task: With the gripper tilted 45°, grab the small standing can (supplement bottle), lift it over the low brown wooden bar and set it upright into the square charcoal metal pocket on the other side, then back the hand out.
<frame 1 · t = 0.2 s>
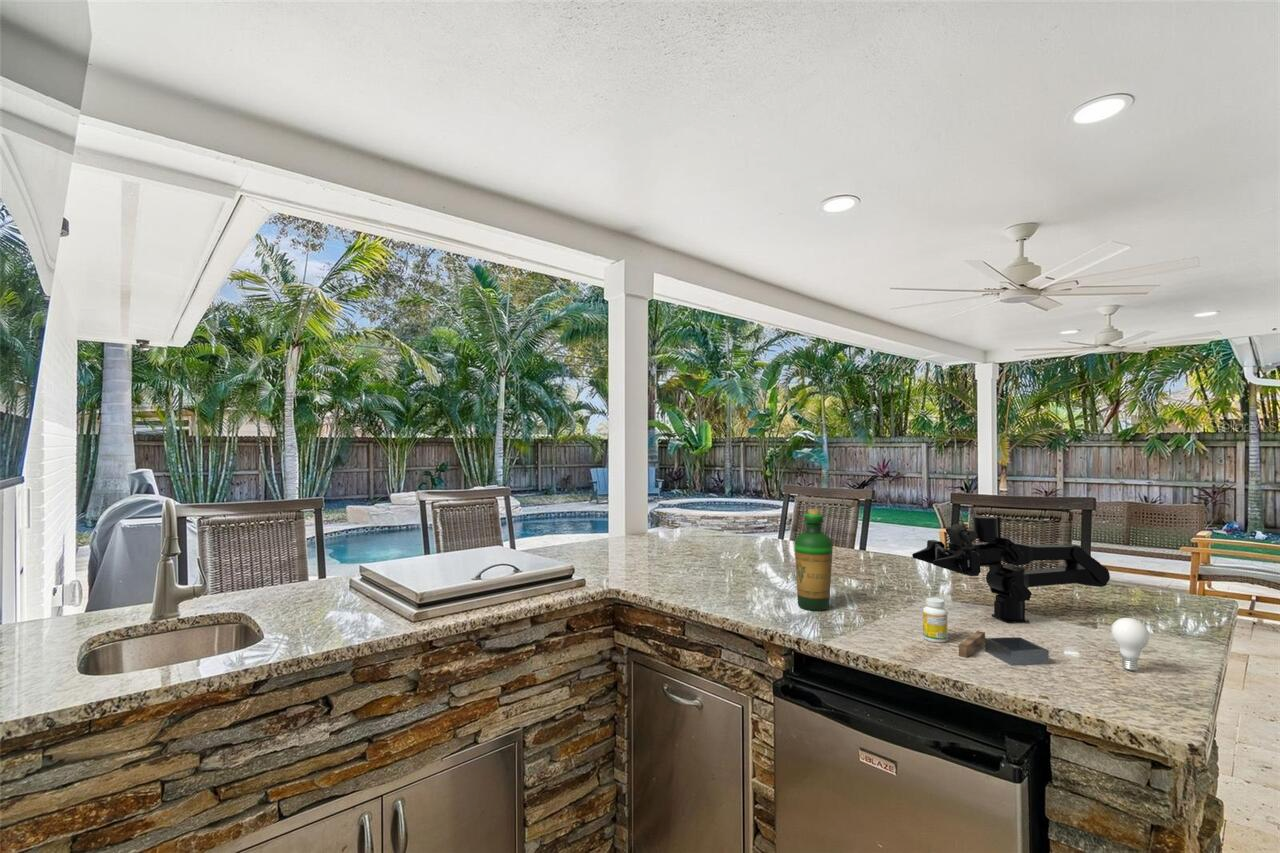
hand: (922, 559, 161), 17 cm above the counter, fingers open, 9 cm apart
bottle: (813, 608, 175), on the counter
metal pocket: (1015, 657, 136), on the counter
lightbulb: (1130, 671, 129), on the counter
brown wooden bar: (972, 649, 141), on the counter
supplement bottle: (935, 640, 148), on the counter
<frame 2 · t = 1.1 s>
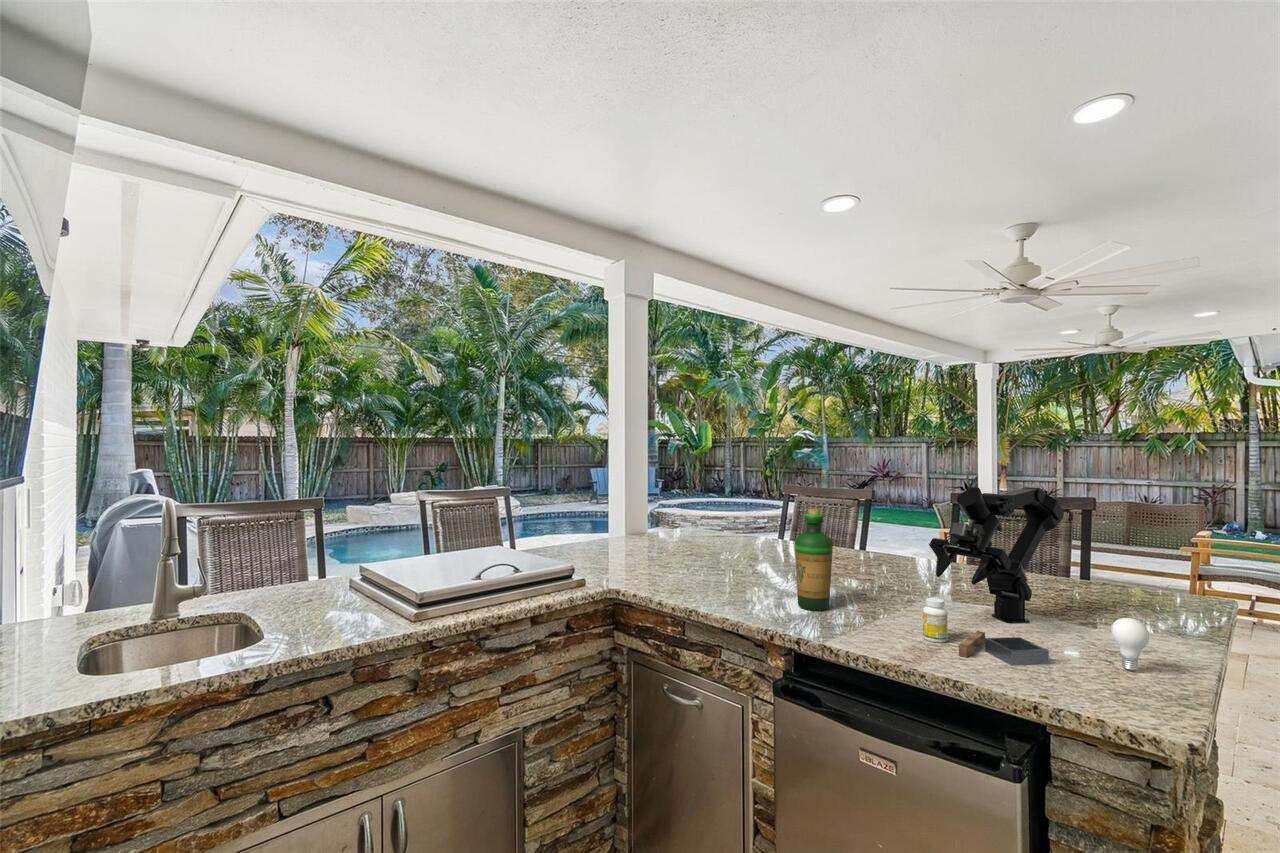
hand: (954, 579, 152), 14 cm above the counter, fingers open, 9 cm apart
nothing on the counter moved.
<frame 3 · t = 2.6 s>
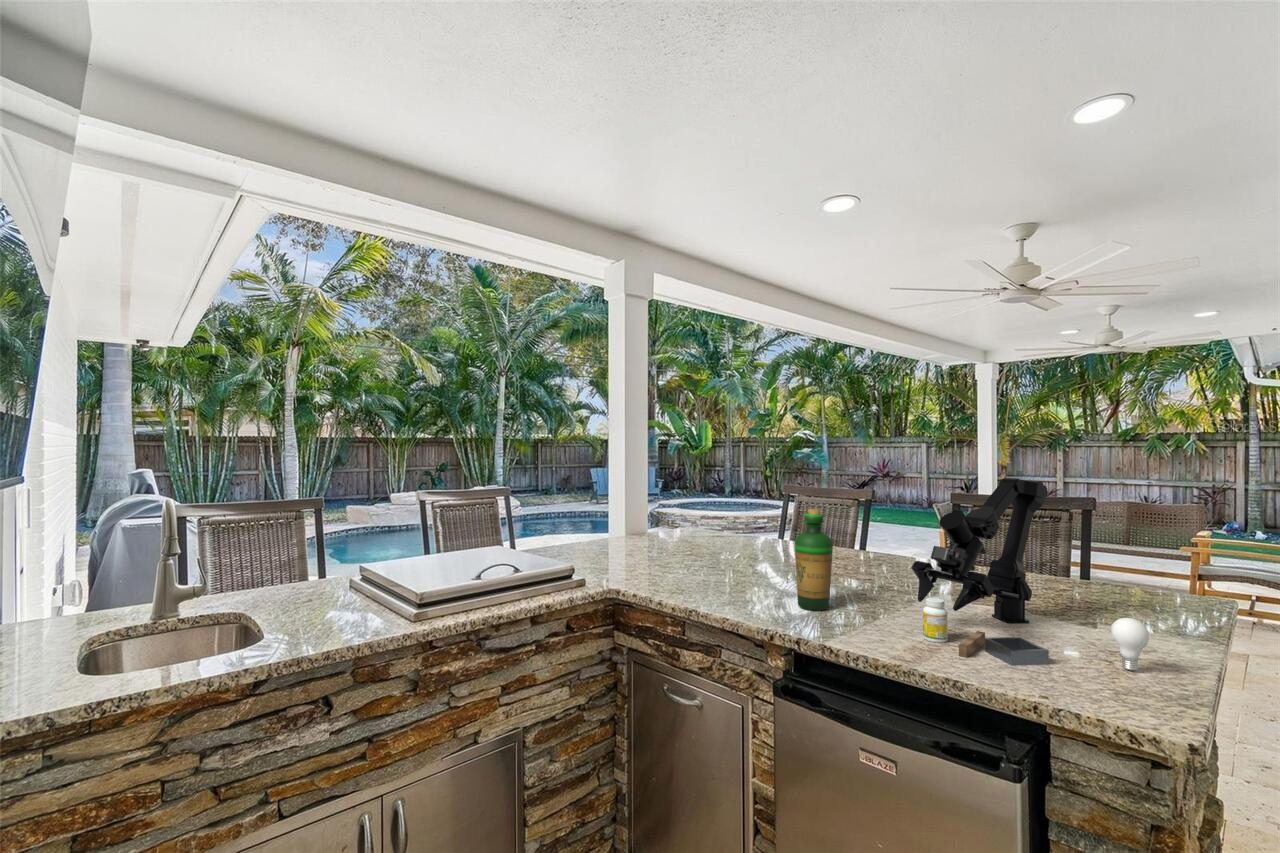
hand: (936, 605, 148), 8 cm above the counter, fingers open, 9 cm apart
nothing on the counter moved.
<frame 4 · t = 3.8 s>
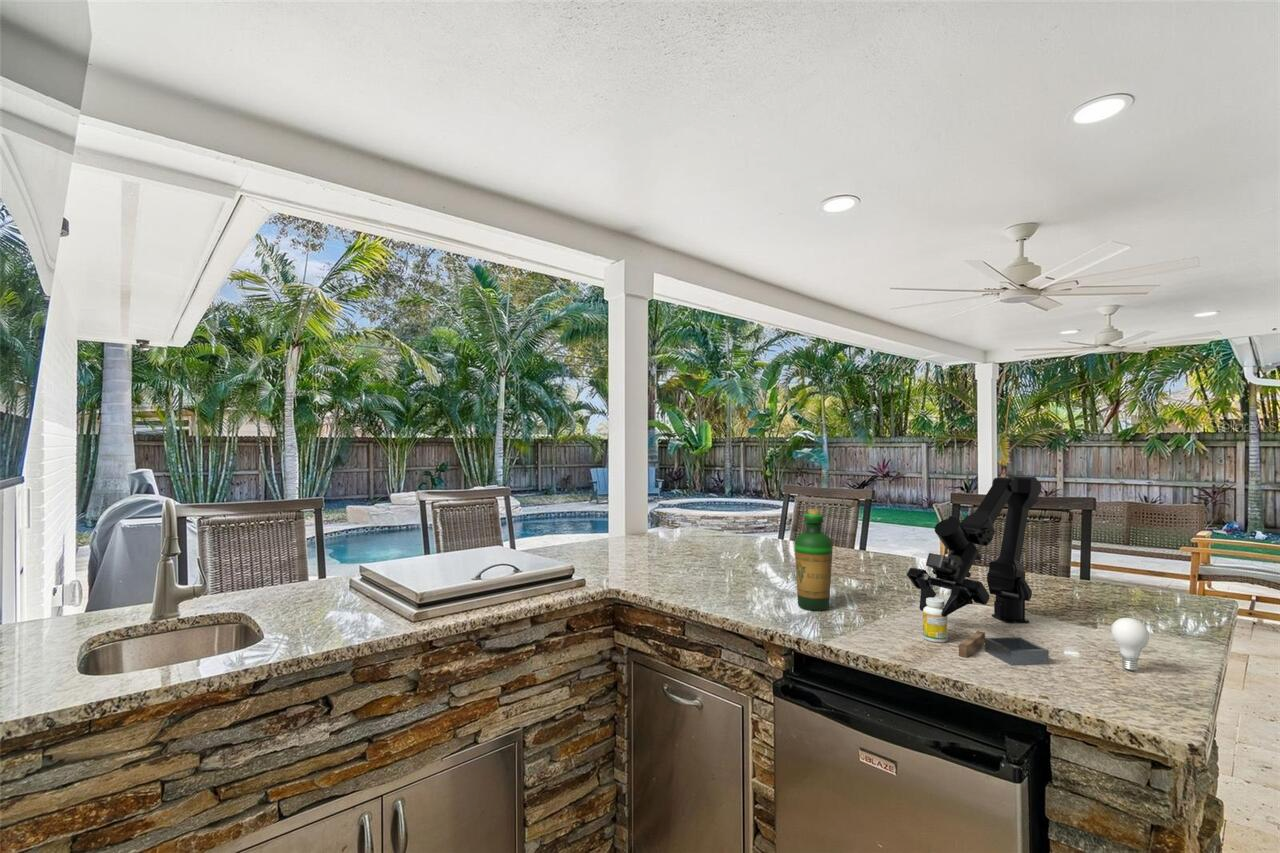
hand: (931, 612, 147), 7 cm above the counter, fingers closed on supplement bottle, 5 cm apart
supplement bottle: (935, 640, 148), on the counter, touching gripper
everything else where it was.
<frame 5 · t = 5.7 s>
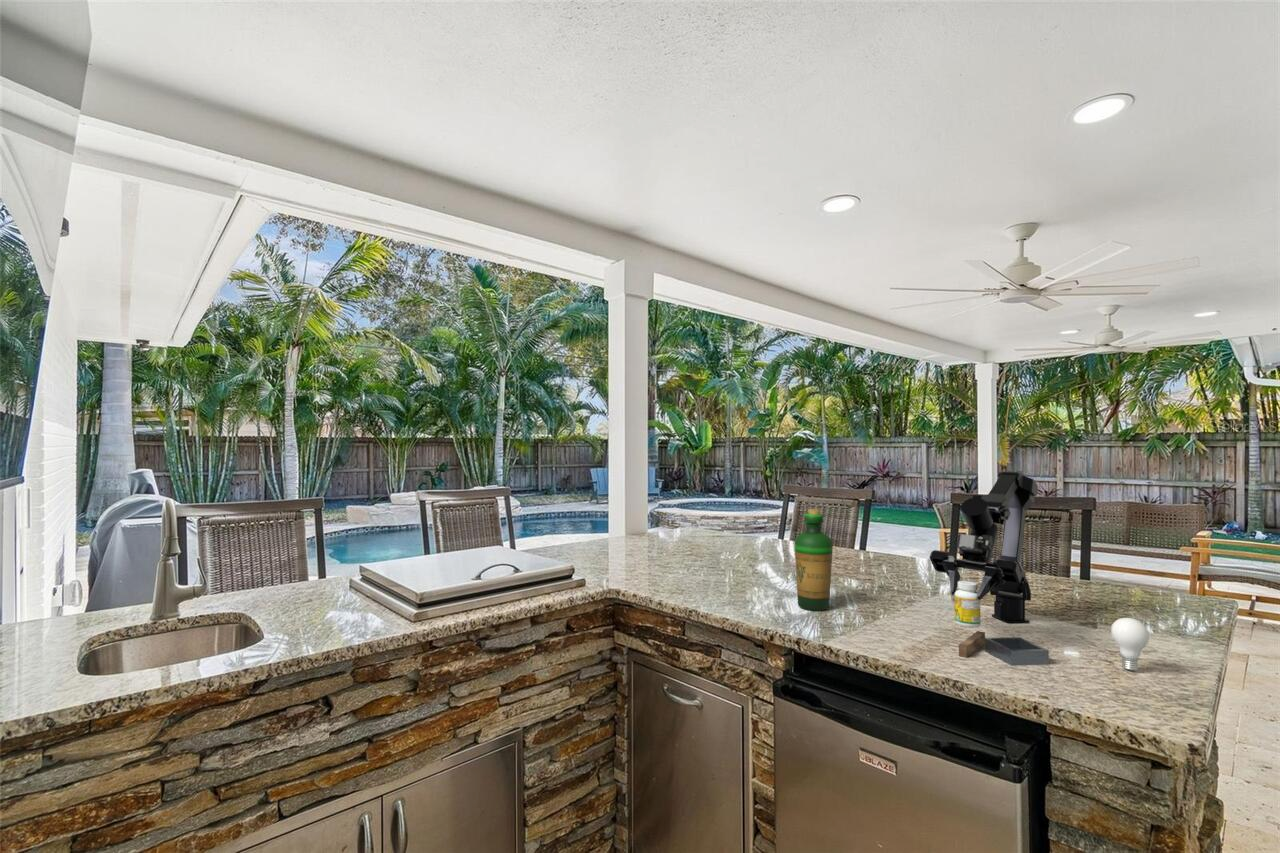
hand: (965, 596, 141), 12 cm above the counter, fingers closed on supplement bottle, 5 cm apart
supplement bottle: (967, 625, 142), point 5 cm above the counter, touching gripper
everything else where it was.
when the fingers open (8 cm above the counter, at t = 7.7 s): supplement bottle stays where it is, resting on metal pocket.
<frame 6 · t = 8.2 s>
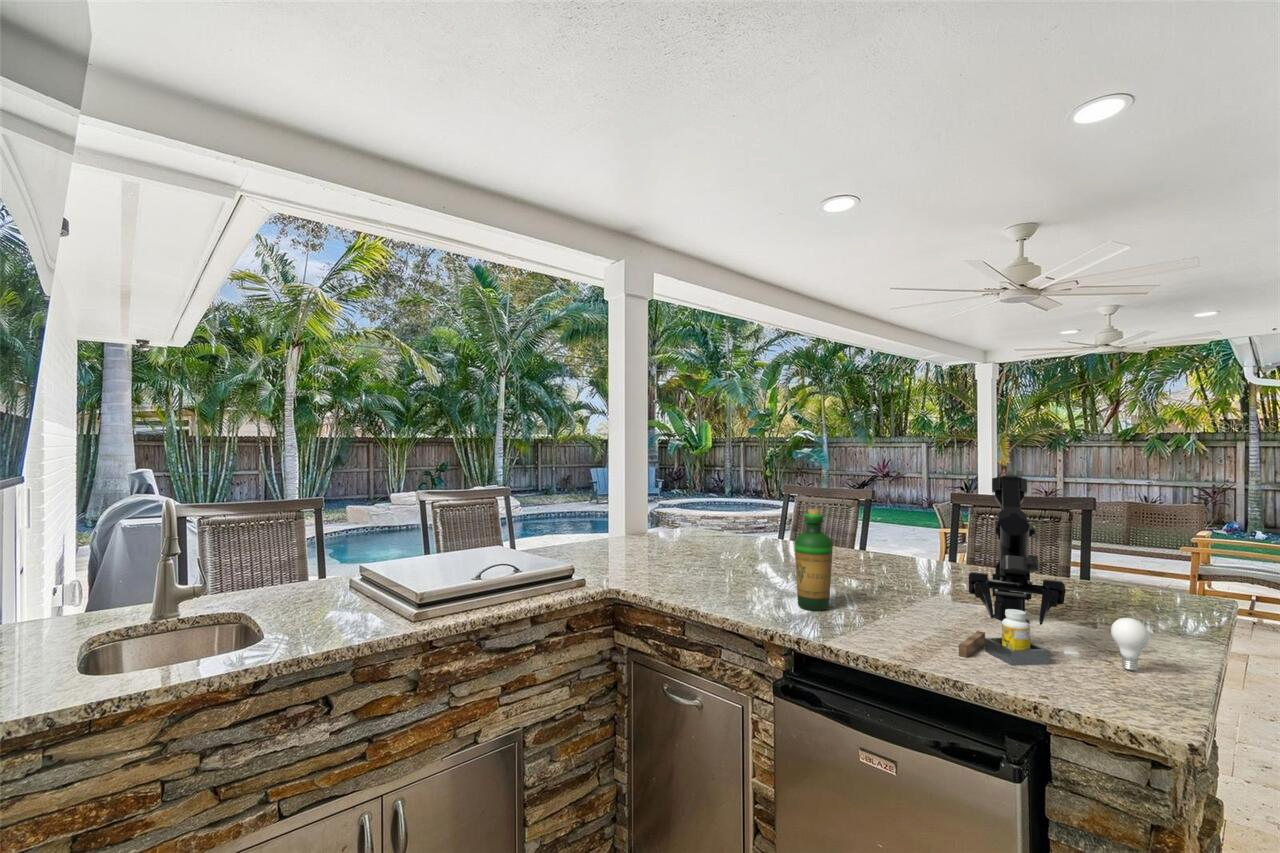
hand: (1016, 620, 135), 9 cm above the counter, fingers open, 9 cm apart
supplement bottle: (1015, 655, 136), resting on metal pocket
everything else where it was.
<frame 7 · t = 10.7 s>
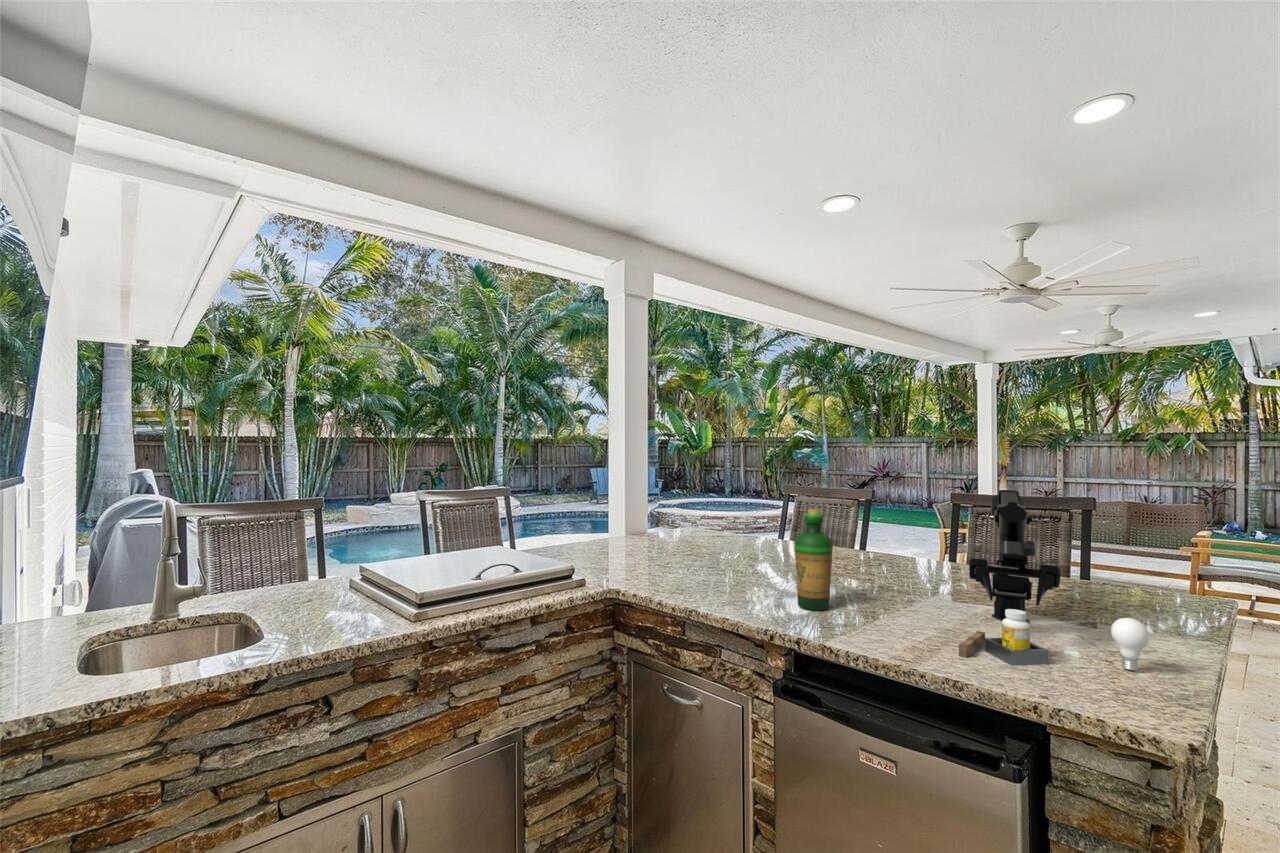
hand: (1014, 602, 143), 10 cm above the counter, fingers open, 9 cm apart
nothing on the counter moved.
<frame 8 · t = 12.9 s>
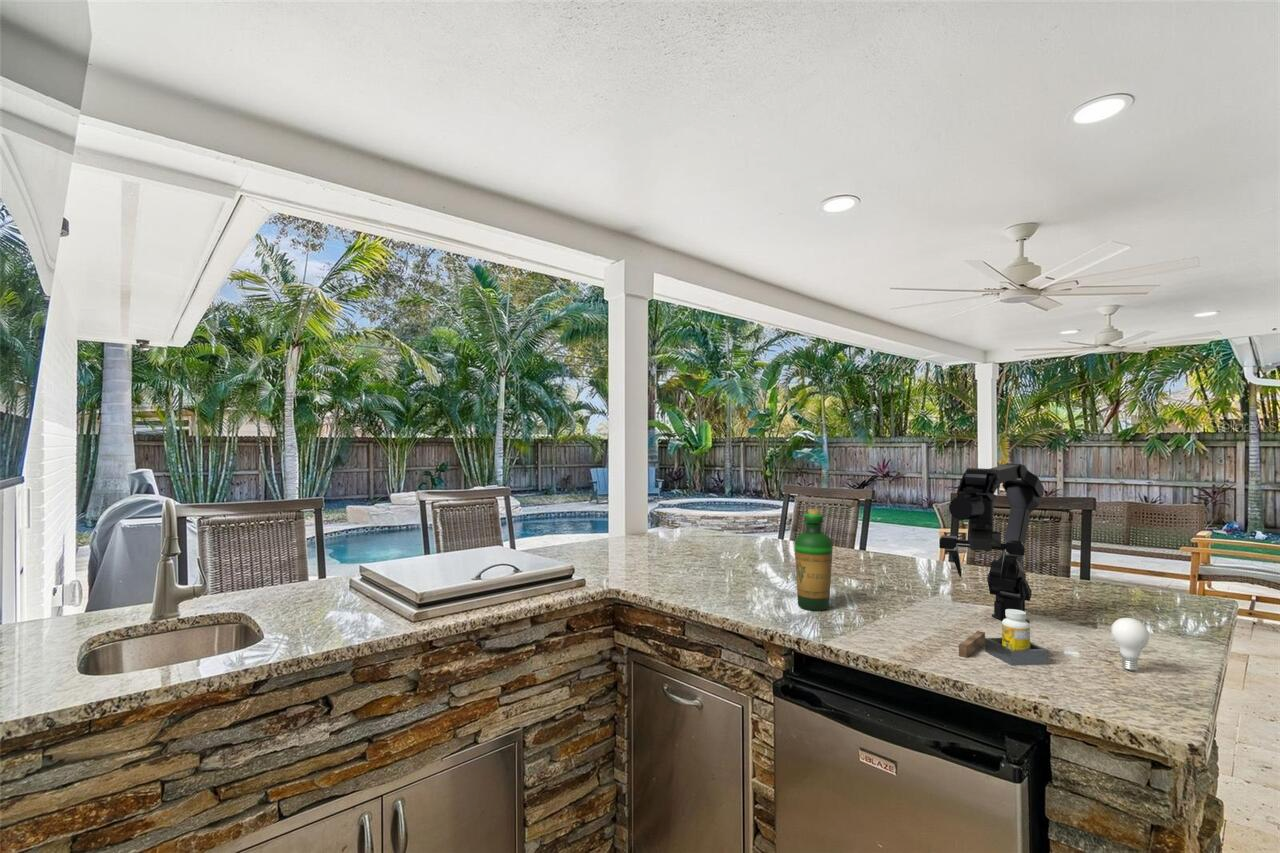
hand: (980, 578, 155), 13 cm above the counter, fingers open, 9 cm apart
nothing on the counter moved.
at the end: supplement bottle 0.1 cm off-centre on the metal pocket, point 0.4 cm above the metal pocket's base; supplement bottle tilted 0°; the gripper is holding nothing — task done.
